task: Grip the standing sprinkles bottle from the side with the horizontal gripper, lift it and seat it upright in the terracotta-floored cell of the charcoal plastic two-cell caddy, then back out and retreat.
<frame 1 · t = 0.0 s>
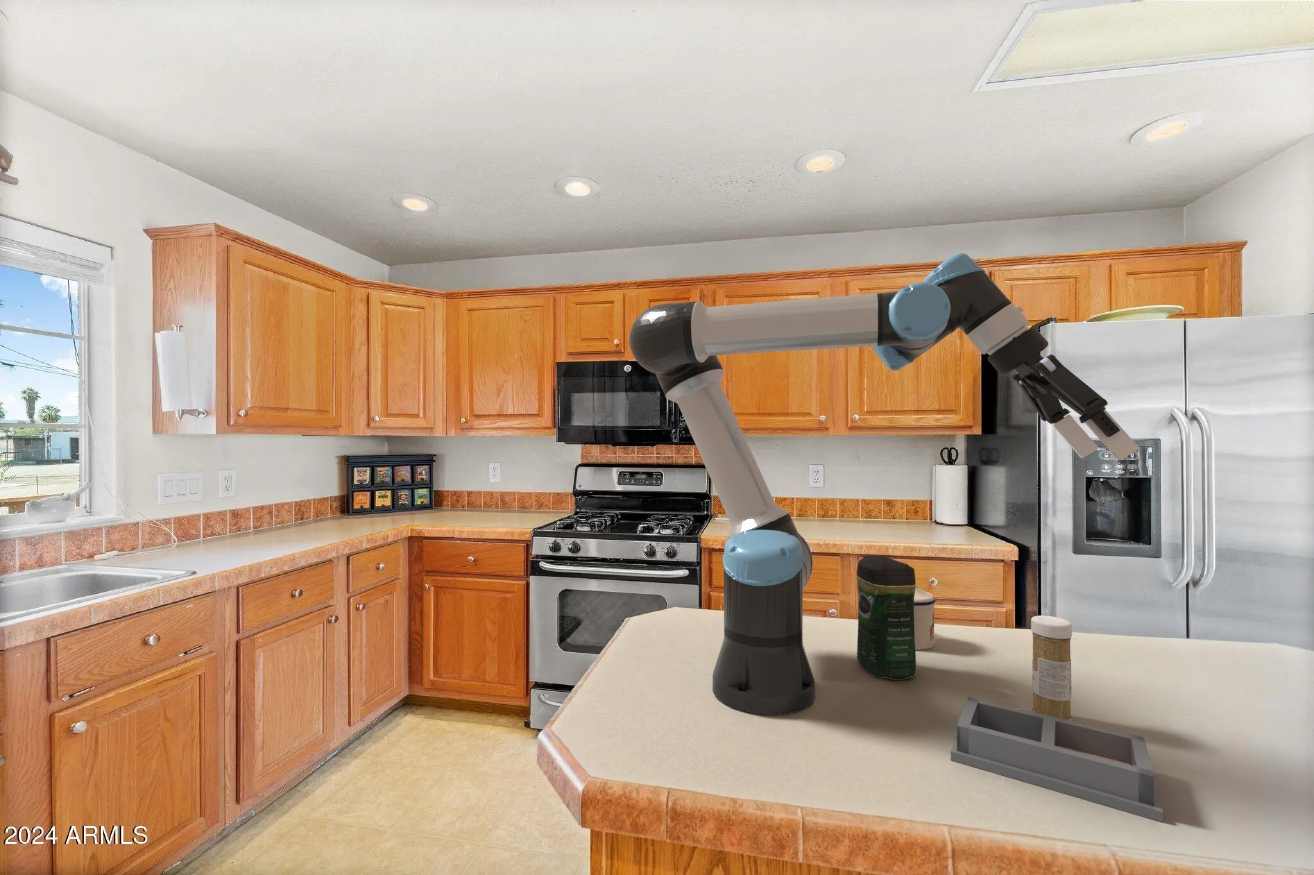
hand: (1108, 454, 82), 36 cm above the counter, tool tilted 35°, fingers open, 13 cm apart
coffee jar: (885, 671, 94), on the counter
bottle caddy: (1048, 766, 66), on the counter
sprinkles bottle: (1051, 720, 77), on the counter
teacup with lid: (906, 640, 109), on the counter
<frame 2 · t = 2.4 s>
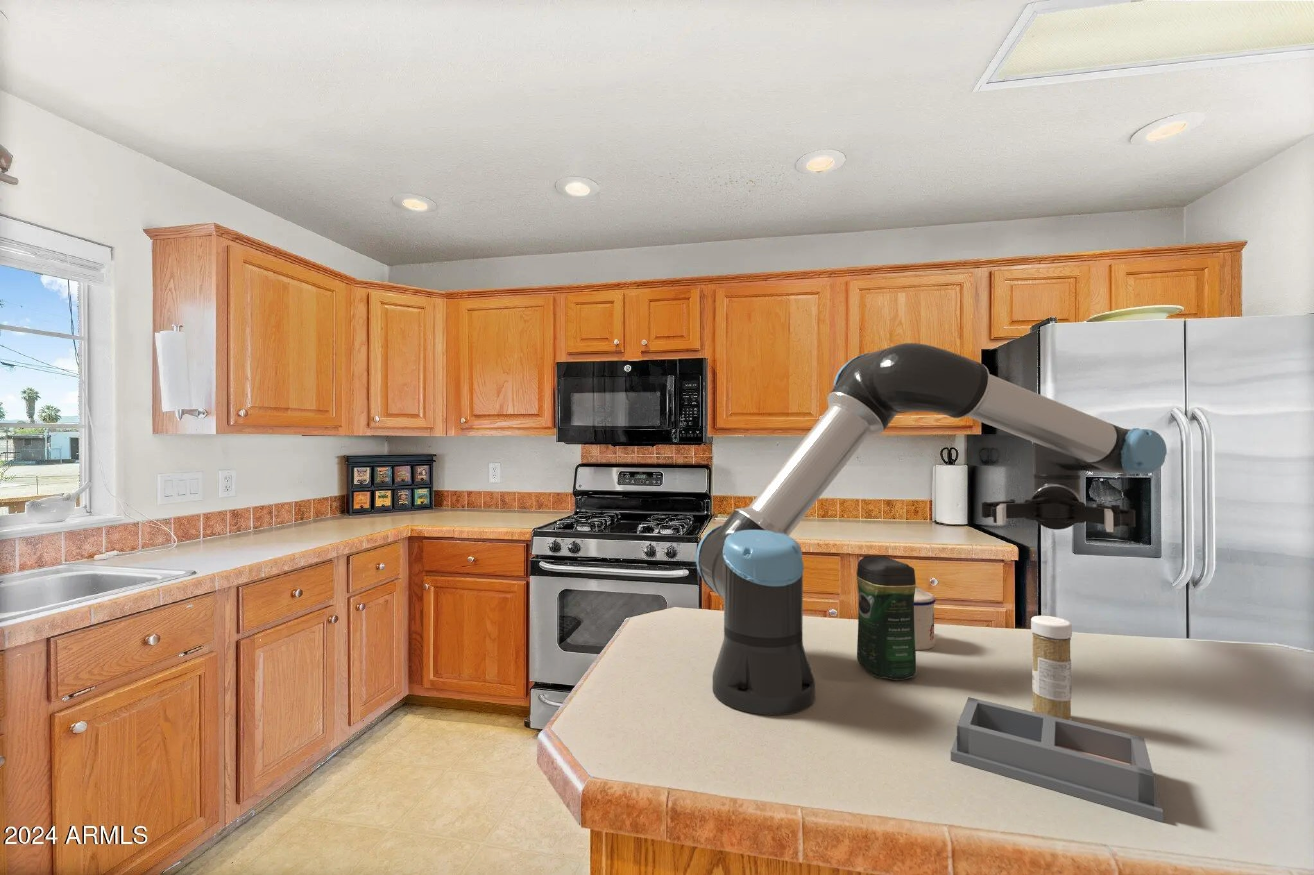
hand: (1052, 519, 85), 26 cm above the counter, tool horizontal, fingers open, 13 cm apart
nothing on the counter moved.
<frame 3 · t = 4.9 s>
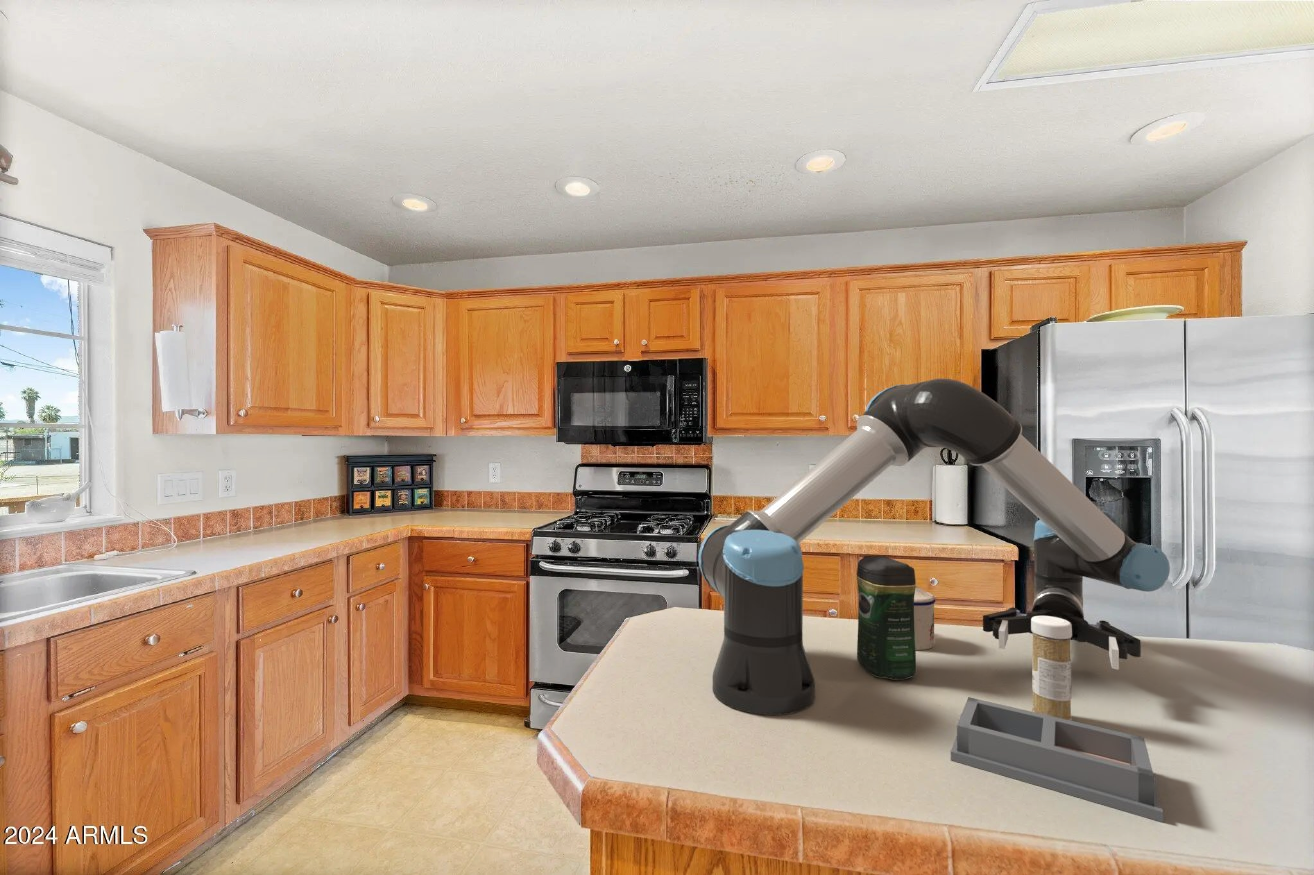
hand: (1055, 649, 83), 7 cm above the counter, tool horizontal, fingers open, 13 cm apart
nothing on the counter moved.
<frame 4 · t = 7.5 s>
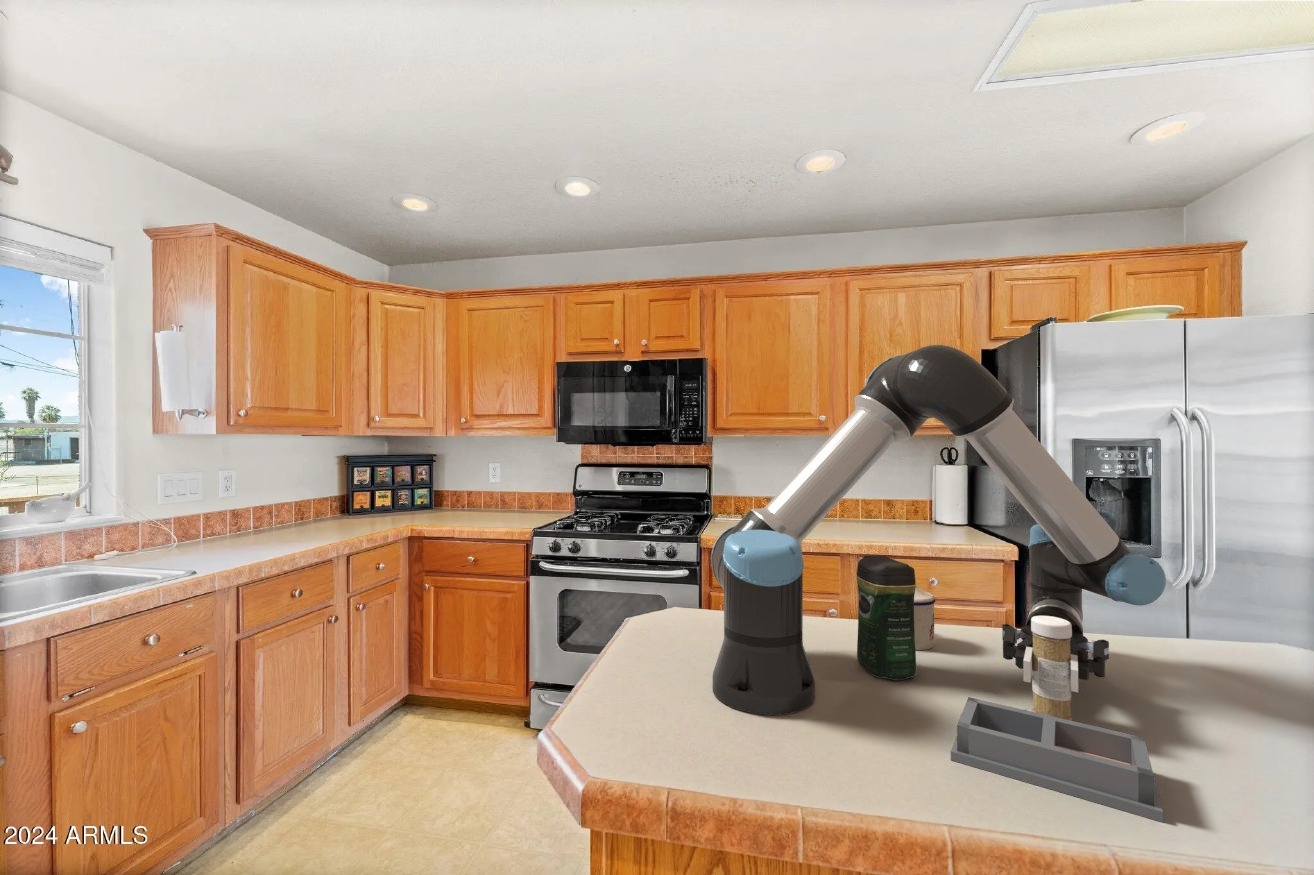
hand: (1050, 675, 73), 8 cm above the counter, tool horizontal, fingers closed on sprinkles bottle, 4 cm apart
sprinkles bottle: (1051, 720, 77), on the counter, touching gripper
everything else where it was.
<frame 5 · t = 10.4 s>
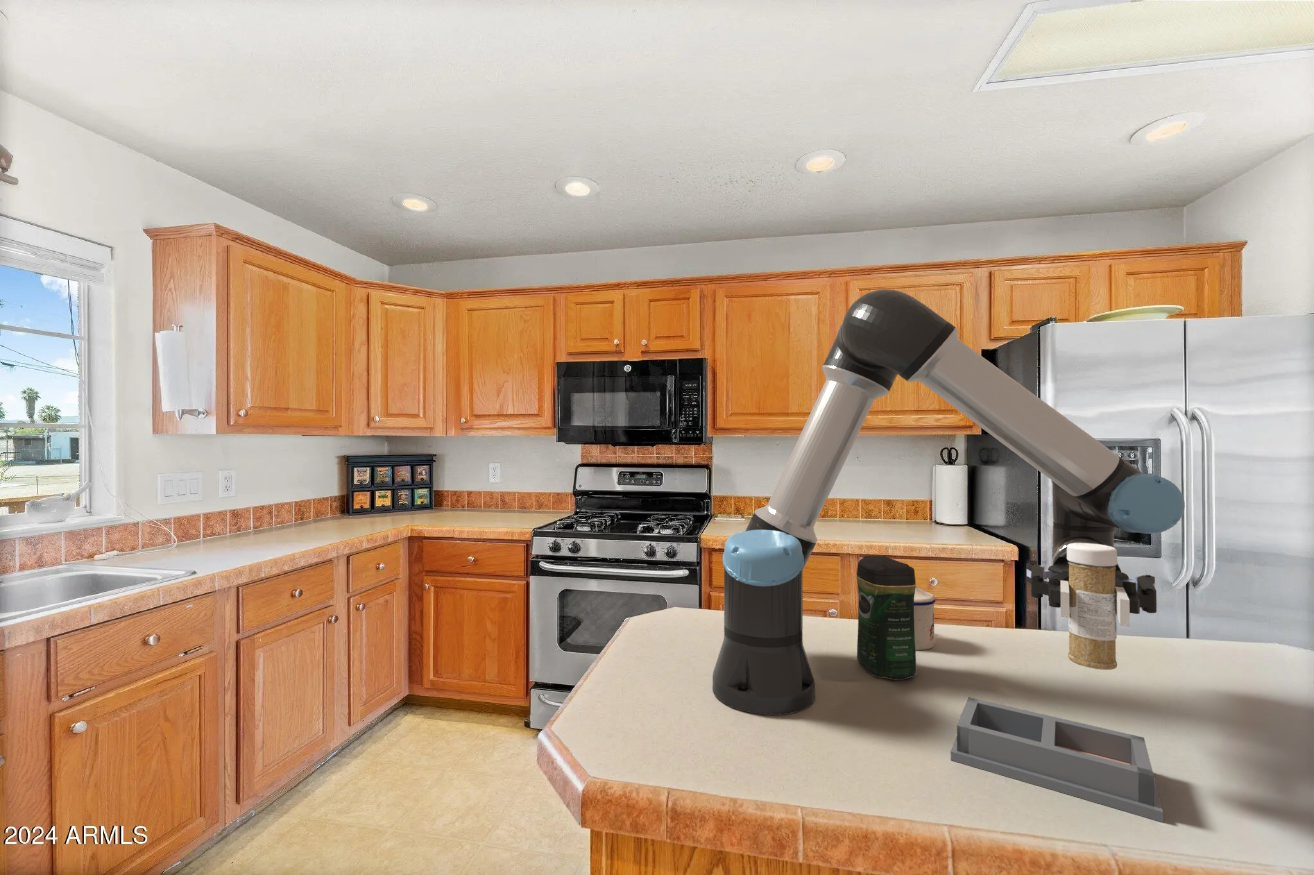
hand: (1094, 608, 60), 20 cm above the counter, tool horizontal, fingers closed on sprinkles bottle, 4 cm apart
sprinkles bottle: (1092, 665, 65), point 12 cm above the counter, touching gripper
everything else where it was.
when the fingers open (10 cm above the counter, at t = 13.2 s): sprinkles bottle drops 1 cm, resting on bottle caddy.
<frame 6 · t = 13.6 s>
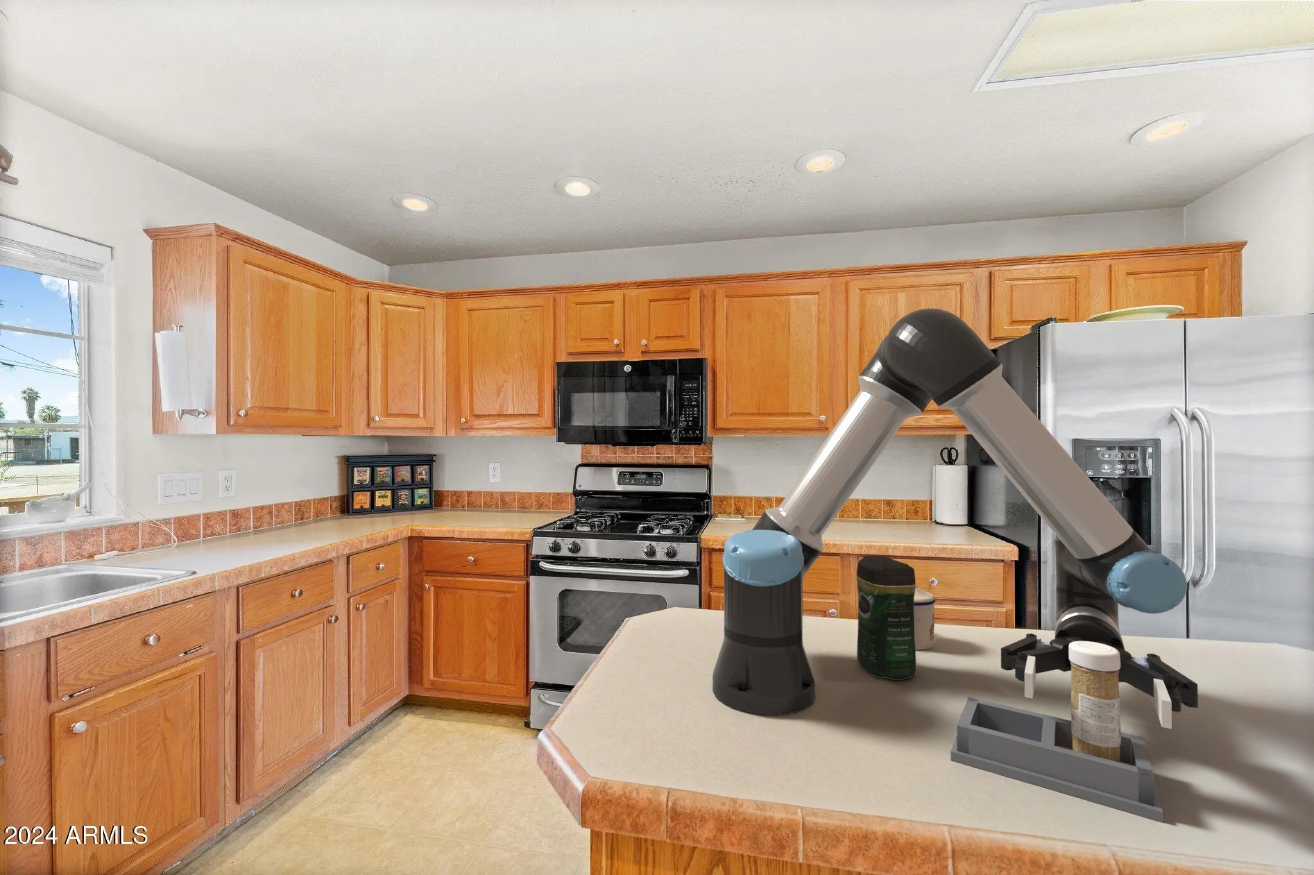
hand: (1093, 699, 60), 10 cm above the counter, tool horizontal, fingers open, 11 cm apart
sprinkles bottle: (1096, 769, 63), point 1 cm above the counter, touching bottle caddy
everything else where it was.
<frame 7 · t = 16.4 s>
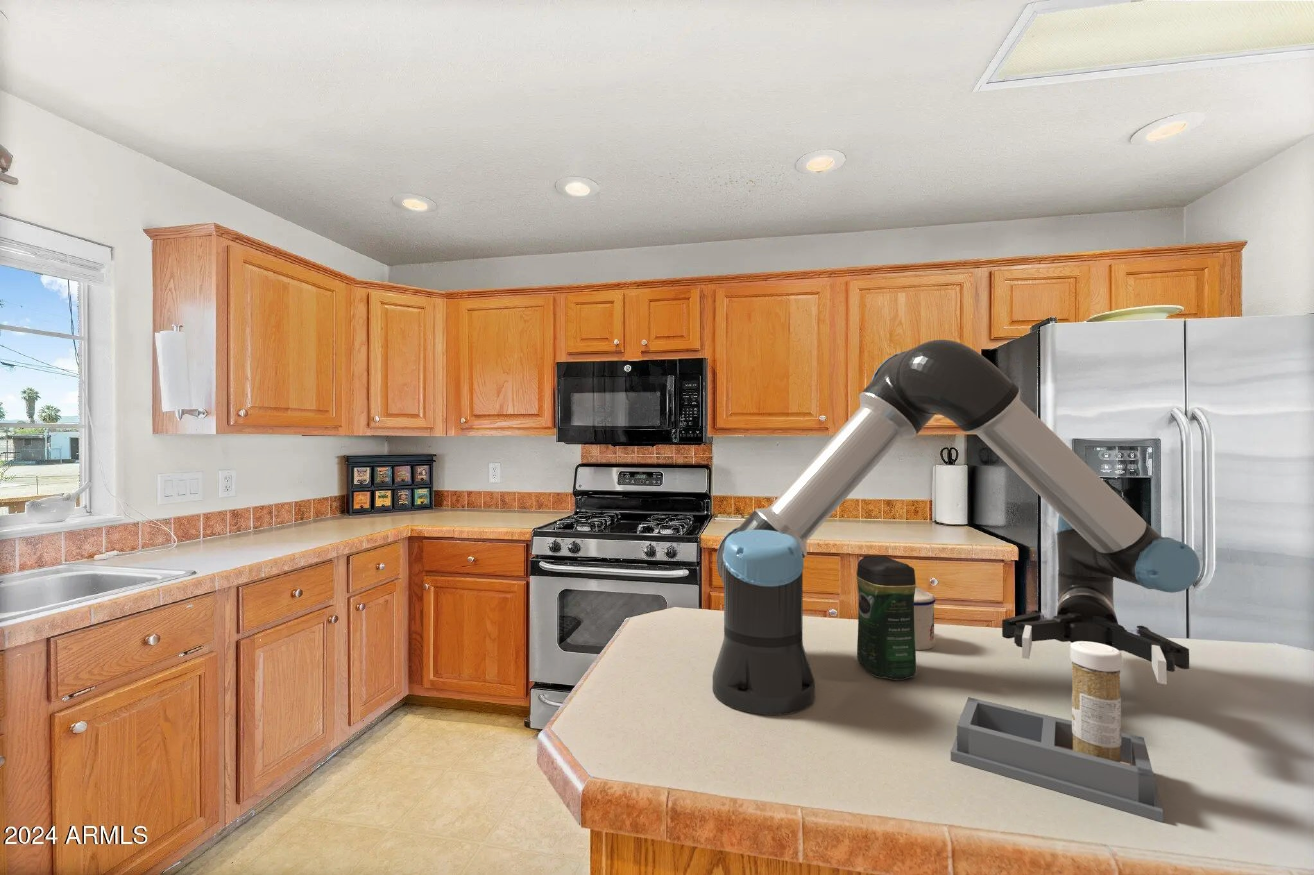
hand: (1090, 659, 71), 10 cm above the counter, tool horizontal, fingers open, 13 cm apart
nothing on the counter moved.
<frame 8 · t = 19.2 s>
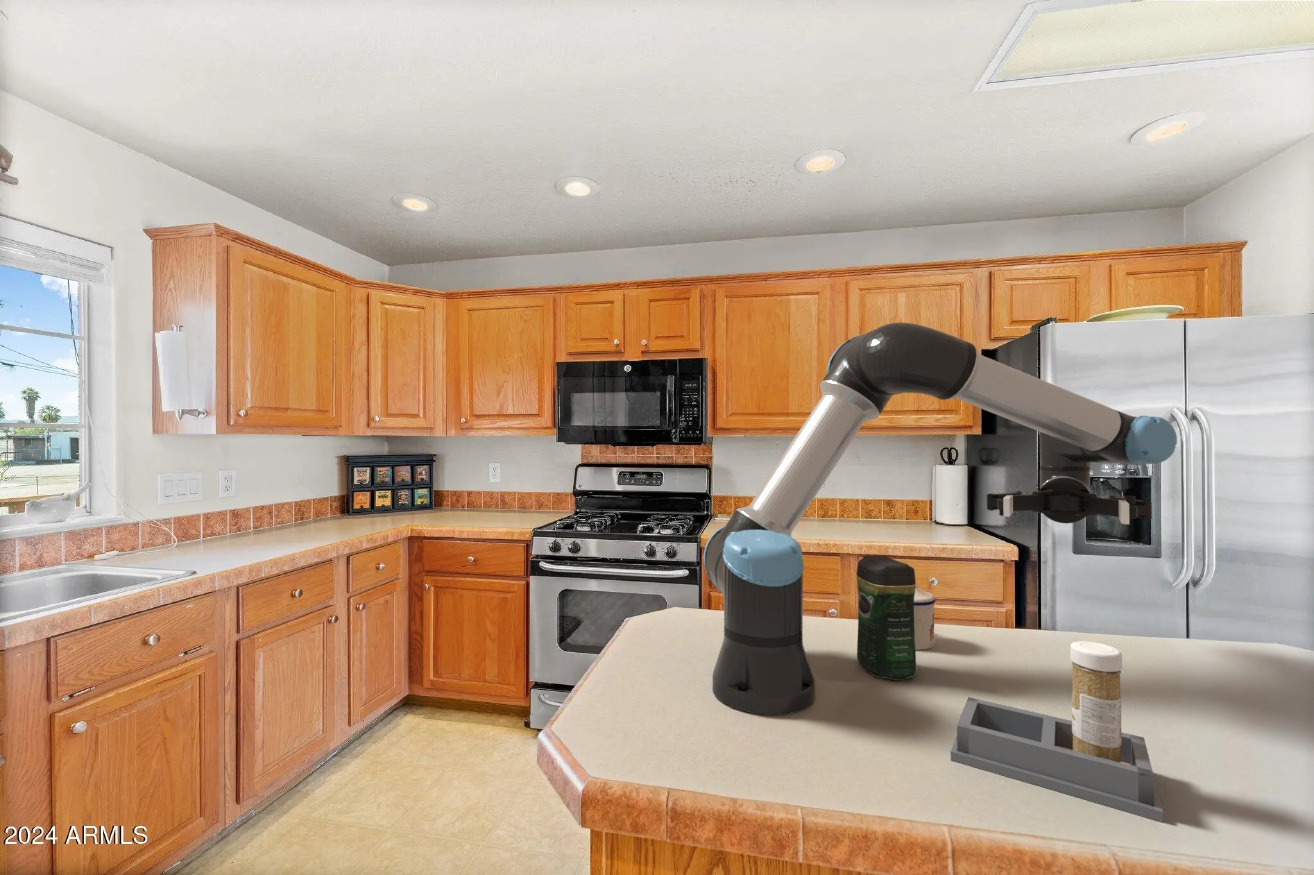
hand: (1063, 510, 80), 28 cm above the counter, tool horizontal, fingers open, 13 cm apart
nothing on the counter moved.
at the end: sprinkles bottle 0.3 cm from the target spot on the bottle caddy, point 1.0 cm above the bottle caddy's base; sprinkles bottle tilted 0°; the gripper is holding nothing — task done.
